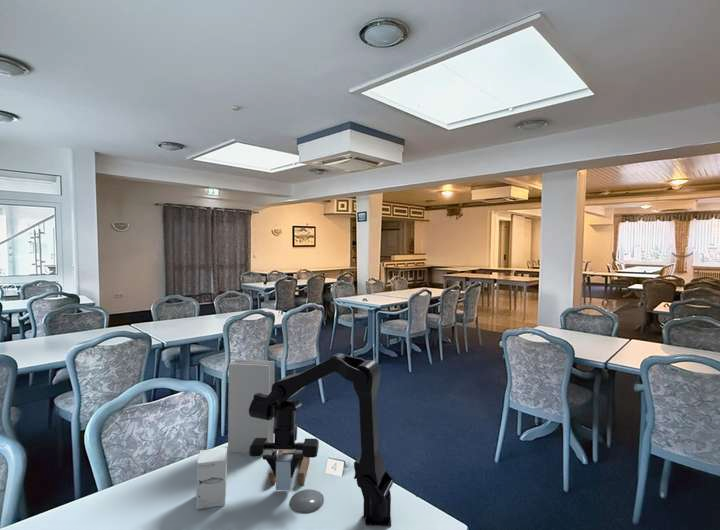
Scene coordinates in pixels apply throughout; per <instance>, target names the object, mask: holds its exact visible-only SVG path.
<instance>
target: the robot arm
mask: <svg viewBox="0 0 720 530" xmlns="http://www.w3.org/2000/svg"><path fill="white" fill-rule="evenodd" d="M381 372H382V369H381V366H380V364H378V363H377V362H376V361H374V360H372V359H367V360H365V359H364V358H361V357H355V356H350V355H346V354H344V353H342V352H338V353H336V354H334V355H332V356H330V357H329V358H328V359H326V360H324V361H322V362H320V363H318V364H316V365H314V366H313V367H310V368H308V369H306V370H304V371H302V372H298V373H294V374H290V375H287V376H285V377H283V378H281V379H279V380H277V381H274V384H273V385H272V391H271V393H270V394H269V395H264V394H262V393H257V394H255V395H254V399H253V400H252V402H251V404H250V408H249V415H250V416H251V417H254V418H259V419H264V420H271V419H272V418H273V417H274V428H273V433H274V443H268V439H267V438H255V439H254V440H253V442H252V444H251V445H250V448H249V453H248V456H249V457H250V458H251V457H255V458H260V457H262V460H264V461H266V462H267V465H269V467H270V470H271V469H272V471H273V473H274V475H275V477H276V461H277V454H278V451H294V455H293V458H292V468H291V478H293V477H294V475H295V471H296V468H297V466H298V465H299V464H298V462H299V460H303V458H304V457H310V459H311V458H312V459H313V458H317V457H318V452H319V448H320V447H319V439H318V438H304V441H303V442H296V441H297V440H298V424H296V412H297V411H298V410H300V409H301V408H302V407H303V404H302V403H301V402H300V401H299V400H298V398H295V399H294V400H290V398H292V397H294V396H295V395H297V394H298V393H299V392H301V390H303V389H304V388H305V387H307V386H308V385H310V384H312V383H315V382H316V381H318V380H320V379H322V378H324V377H327V376H328V375H330V374H332V373H337V374H338V375H340V376H341V377H342V378H343V379H345V380H346V381H349V382H351V383H352V387H353V390H354V392H355V394H356V396H357V398H358V399H357V400H358V405H359V406H358V408H359V409H358V410H359V411H358V412H359V427H360V428H359V430H360V431H359V432H360V447H361V448H360V450H361V452H360V454H359V456H358V457H357V458H356V459H355V461H354V462H353V468H354V477H353V479H354V480H356V485H357V486H358V488H359V489H360V490H361V494H362V497H363V498H362V499H363V518H364V522H365V526H381V527H382V526H387V527H388V526H391V525H392V515H391V513H392V510H391V509H392V504H391V503H392V496H391V488H392V486H393V484H394V478H393V477H392V476H391V475H390V473H389V472H388V471H387V470H386V465H385V461H384V457H383V455H382V453H381V451H380V449H379V447H380V446H379V445H380V444H379V428H378V425H379V424H378V408H377V407H378V406H377V404H378V403H377V395H378V391H379V387H380V382H381V376H382V375H381V374H382V373H381ZM263 451H264V454H263ZM293 479H294V478H293Z"/></svg>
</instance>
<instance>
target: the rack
mask: <svg viewBox="0 0 720 530" xmlns="http://www.w3.org/2000/svg"><path fill="white" fill-rule="evenodd" d="M279 454H285V455H294V451H277V458H278V456H279ZM310 459H311V457H304V458H303V460H299V462H298V464H297V465H299V464H300V468H299V471H298V486H304V485H305V482H306V477H307V474H308V469H309V465H310ZM269 485H271V486H273V485H275V486H276V477H275V475H274V473H273V471H272V469H271V468H270V471H269Z"/></svg>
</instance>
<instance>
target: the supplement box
mask: <svg viewBox="0 0 720 530" xmlns="http://www.w3.org/2000/svg"><path fill="white" fill-rule="evenodd" d="M227 464H228V447H220V448H219V447H218V448H212V449H211V448H210V449H202V450H199V453H198V457H197V463H196V498H195V499H196V500H195V501H196V505H195V506H196V507H195V510H197V511H198V510H201V509H208V508H215V507H223V506H225V504H226V496H227V472H228V471H227V469H228V468H227Z"/></svg>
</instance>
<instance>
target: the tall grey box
mask: <svg viewBox="0 0 720 530" xmlns="http://www.w3.org/2000/svg"><path fill="white" fill-rule="evenodd" d="M275 365H276V362H275V361H274V360H261V359H260V360H257V359H256V360H255V359H253V360H252V359H234V363H228V388H227V389H228V392H227V393H228V396H227V397H228V399H227V400H228V403H227V404H228V408H227V410H228V411H227V412H228V413H227V416H228V417H227V418H228V419H227V420H228V421H227V423H228V424H227V425H228V426H227V452H231V453H242V454H243V453H245V454H249V448H250V445H251V444H252V442H253V440H254V439H255V438H267V439H268V443H274V435H275V434H274V433H273V428H274V422H275V417H273V418H272V419H271V420H264V419H259V418H254V417H251V416H250V415H249V408H250V404H251V402H252V400H253V399H254V395H255V394H257V393H262V394H264V395H269V394H270V393H271V391H272V385H273V384H274V383H275V377H276V376H275V375H276V373H275V367H276V366H275ZM262 455H264V451H263V454H262Z"/></svg>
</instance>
